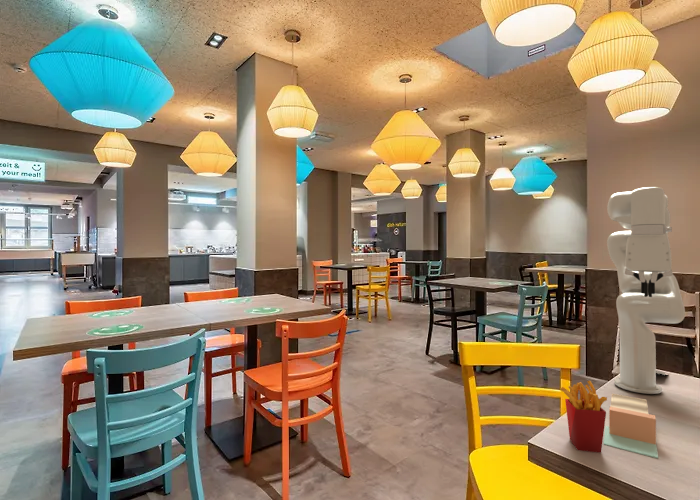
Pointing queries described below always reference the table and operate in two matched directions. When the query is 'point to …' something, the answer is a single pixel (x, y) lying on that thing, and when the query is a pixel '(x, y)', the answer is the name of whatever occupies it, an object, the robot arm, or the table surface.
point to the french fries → (585, 417)
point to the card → (632, 425)
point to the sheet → (629, 403)
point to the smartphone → (660, 372)
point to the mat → (630, 444)
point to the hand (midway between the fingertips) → (647, 296)
